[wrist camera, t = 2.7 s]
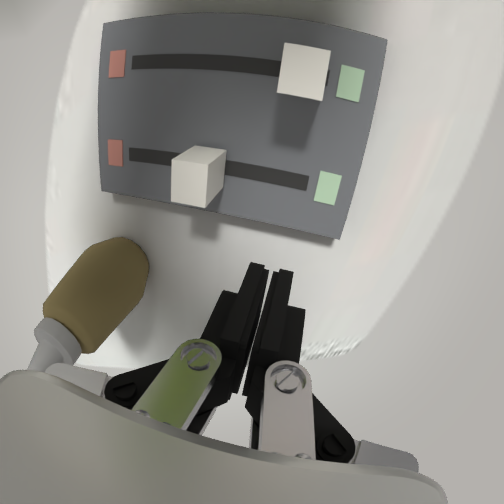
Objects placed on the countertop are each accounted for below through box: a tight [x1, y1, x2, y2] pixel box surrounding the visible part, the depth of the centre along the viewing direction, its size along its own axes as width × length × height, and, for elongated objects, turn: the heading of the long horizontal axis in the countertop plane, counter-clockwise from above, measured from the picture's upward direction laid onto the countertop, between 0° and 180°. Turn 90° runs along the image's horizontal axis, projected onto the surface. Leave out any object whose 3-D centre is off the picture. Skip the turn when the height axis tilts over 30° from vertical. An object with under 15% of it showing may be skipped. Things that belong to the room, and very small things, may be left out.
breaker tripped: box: [171, 146, 227, 208], centre depth 21 cm, size 3×2×4 cm
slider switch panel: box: [98, 13, 387, 240], centre depth 21 cm, size 16×22×2 cm
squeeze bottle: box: [27, 237, 149, 372], centre depth 25 cm, size 8×8×18 cm
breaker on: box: [277, 43, 331, 101], centre depth 15 cm, size 3×2×4 cm
